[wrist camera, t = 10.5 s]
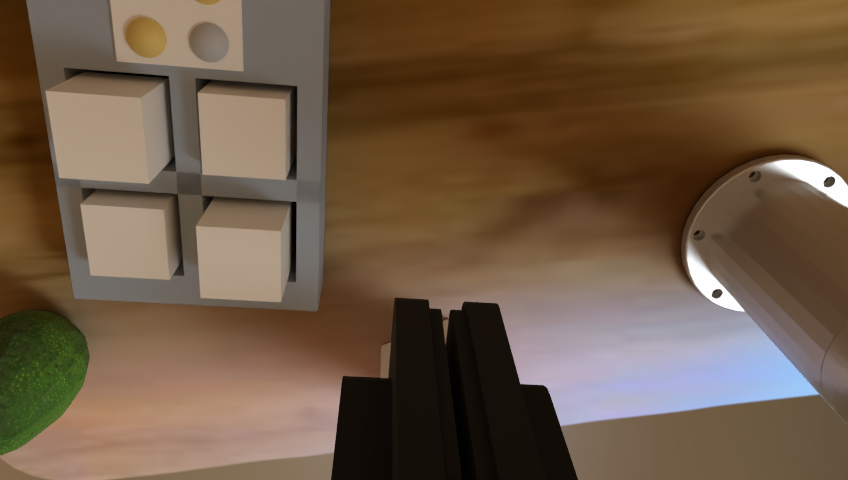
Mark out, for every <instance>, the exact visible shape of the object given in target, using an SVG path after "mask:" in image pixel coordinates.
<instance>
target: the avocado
mask: <svg viewBox="0 0 848 480" xmlns="http://www.w3.org/2000/svg"><path fill="white" fill-rule="evenodd" d="M88 362H89V351H88V346H87V342H86V339H85V336H84V335H83V334H82V332H81V331H80V330H79V329H78V328H77V327H76V326H75V325H73V324H72V323H71V322H70V321H68V320H67V319H66V318H65V317H63V316H60V315H57V314H55V313H52V312H49V311H43V310H25V311H20V312H17V313H14V314H10V315H7V316H5V317H3V318H0V455H3V454H6V453H8V452H11V451H14V450H16V449H18V448H20V447H21V446H23V445H25V444H26V443H28V442H29V441H30V440H31V439H33V438H34V437H35V436H37V435H38V434H39V433H41V432H42V431H43V430H44V429H46V428H47V427H48V426H50V425H51V424H52V423H53V422H55V421H56V420H57V419H58V418H60V417H61V416H62V415H63V413H64V412H65V411H66V409H67V408H68V407H69V405H70V404H71V402H72V401H73V400H74V398H75V397H76V395H77V394H78V392H79V391H80V389H81V388H82V386H83V383H84V380H85V376H86V372H87V367H88Z"/></svg>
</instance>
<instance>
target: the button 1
mask: <svg viewBox="0 0 848 480" xmlns="http://www.w3.org/2000/svg"><path fill="white" fill-rule="evenodd" d="M45 92H46V98H47V104H48V111H49V117H50V123H51V130H52V136H53V142H54V148H55V155H56V161H57V167H58V174H59V178H68V179H83V180H98V181H113V182H128V183H143V184H149V183H150V182H151V181H152V180H153V179H154V178H155V177H156V176H157V175H158V174H159V173H160V171H161V170H162V169H163V168H164V167H165V166H166V165H167V164H168V163H169V162H170V161H171V160H172V158H173V157H174V156H175V153H174V140H173V127H172V114H171V101H170V88H169V78H158V77H146V76H133V75H120V74H108V73H95V72H83V73H81V74H79V75H77V76H74V77H72V78H70V79H68V80H66V81H64V82H62V83H60V84H58V85H56V86H54V87H52V88H50V89H48V90H46V91H45Z"/></svg>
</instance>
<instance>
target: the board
mask: <svg viewBox="0 0 848 480" xmlns="http://www.w3.org/2000/svg"><path fill="white" fill-rule="evenodd" d="M26 2H27V8H28V15H29V21H30V27H31V33H32V39H33V46H34V52H35V58H36V64H37V70H38V77H39V83H40V89H41V95H42V101H43V108H44V114H45V120H46V126H47V132H48V139H49V145H50V151H51V157H52V163H53V170H54V176H55V182H56V188H57V194H58V201H59V207H60V213H61V219H62V225H63V232H64V238H65V244H66V250H67V256H68V263H69V269H70V275H71V281H72V287H73V294H74V299H91V300H110V301H129V302H147V303H166V304H185V305H204V306H223V307H241V308H260V309H279V310H298V311H316V312H317V311H318V306H319V301H320V296H321V291H322V286H323V261H324V224H325V186H326V149H327V112H328V74H329V37H330V0H26ZM94 70H100V71H112V72H125V73H138V74H150V75H163V76H169V82H170V96H171V109H172V122H173V135H174V148H175V150H174V153H175V156H174V157H173V158H172V160H171V161H170V162H169V163H168V164H167V165H166V166H165V167H164V168H163V169H162V170H161V171H160V173H159V174H158V175H157V176H156V177H155V178H154V179H153V180H152V181H151V182H150V183H149V184H143V183H128V182H113V181H98V180H83V179H68V178H59V174H58V167H57V161H56V155H55V148H54V142H53V136H52V130H51V123H50V117H49V111H48V104H47V98H46V92H45V91H46V90H48V89H50V88H52V87H54V86H56V85H58V84H60V83H62V82H64V81H66V80H68V79H70V78H72V77H74V76H77V75H79V74H81V73H83V72H94ZM212 79H214V80H226V81H239V82H252V83H264V84H277V85H290V86H297V159H294V161H293V163H292V166H291V168H290V171H289V173H288V175H287V178H286V180H275V179H260V178H246V177H231V176H216V175H202V159H201V142H200V125H199V108H198V92H199V91H200V90H201V89H203V88H204V87H205V86H206V85H207V84H208V83H209V82H210V81H212ZM97 189H110V190H125V191H140V192H155V193H170V194H178V200H179V213H180V226H181V239H182V252H183V259H182V261H181V262H180V264H179V266H178V267H177V269H176V270H175V272H174V274H173V275H172V277H171V279H170V280H163V279H145V278H127V277H109V276H91V275H90V268H89V261H88V254H87V247H86V241H85V234H84V227H83V220H82V213H81V206H80V204H81V203H82V202H83V201H84V200H86V199H87V198H88V197H89V196H90V195H91V194H92V193H93V192H94V191H95V190H97ZM215 196H216V197H231V198H247V199H262V200H277V201H292V202H297V225H296V255H292V266H291V270H290V273H289V277H288V280H287V283H286V287H285V290H284V294H283V297H282V300H281V302H265V301H247V300H228V299H210V298H201V297H200V282H199V267H198V252H197V236H196V225H197V223H198V222H199V220H200V219H201V217H202V216H203V214H204V212H205V211H206V209H207V208H208V206H209V205H210V203H211V202H212V200H213V198H214V197H215Z"/></svg>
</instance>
